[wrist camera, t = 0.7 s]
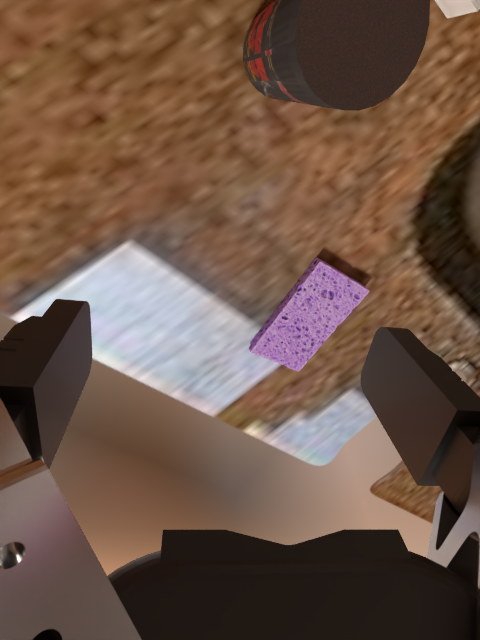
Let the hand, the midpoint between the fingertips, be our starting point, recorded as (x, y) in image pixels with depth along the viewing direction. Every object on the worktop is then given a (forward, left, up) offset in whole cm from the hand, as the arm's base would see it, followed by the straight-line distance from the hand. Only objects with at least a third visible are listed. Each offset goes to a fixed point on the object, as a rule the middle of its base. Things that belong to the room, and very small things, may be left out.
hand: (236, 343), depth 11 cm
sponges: (+18, +7, -27) cm, 33 cm away
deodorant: (-6, +8, -26) cm, 28 cm away
